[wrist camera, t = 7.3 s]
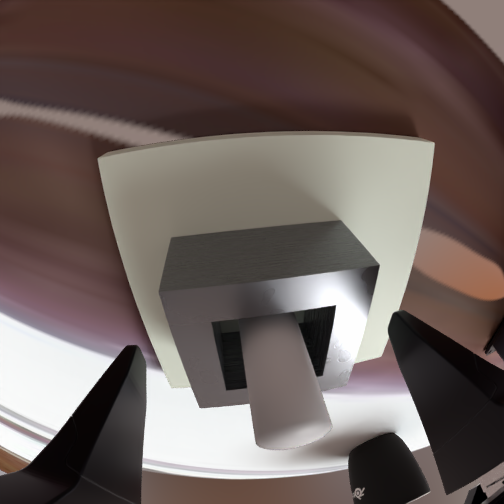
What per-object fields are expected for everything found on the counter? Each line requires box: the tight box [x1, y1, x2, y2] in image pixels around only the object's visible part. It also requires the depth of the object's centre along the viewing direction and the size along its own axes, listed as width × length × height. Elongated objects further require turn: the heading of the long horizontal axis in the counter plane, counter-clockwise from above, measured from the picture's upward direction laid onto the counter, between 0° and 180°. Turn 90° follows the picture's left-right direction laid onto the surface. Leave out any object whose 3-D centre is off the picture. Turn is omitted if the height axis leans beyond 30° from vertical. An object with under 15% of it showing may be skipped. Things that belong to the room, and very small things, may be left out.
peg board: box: [97, 131, 435, 450], centre depth 9 cm, size 12×12×7 cm
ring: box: [158, 220, 380, 408], centre depth 10 cm, size 6×6×3 cm
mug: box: [348, 434, 430, 504], centre depth 24 cm, size 12×9×10 cm
